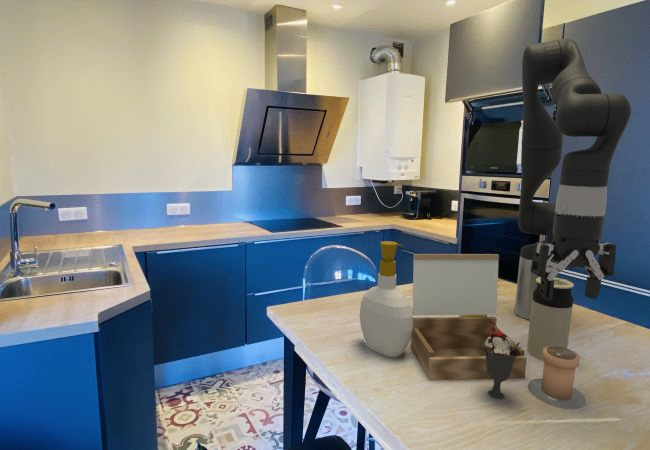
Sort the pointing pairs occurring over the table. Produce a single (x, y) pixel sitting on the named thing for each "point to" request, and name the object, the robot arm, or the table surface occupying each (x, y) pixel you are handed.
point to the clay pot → (559, 372)
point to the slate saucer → (572, 403)
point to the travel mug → (550, 318)
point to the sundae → (499, 359)
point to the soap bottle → (386, 310)
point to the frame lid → (455, 284)
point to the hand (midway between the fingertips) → (568, 298)
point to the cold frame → (456, 347)
